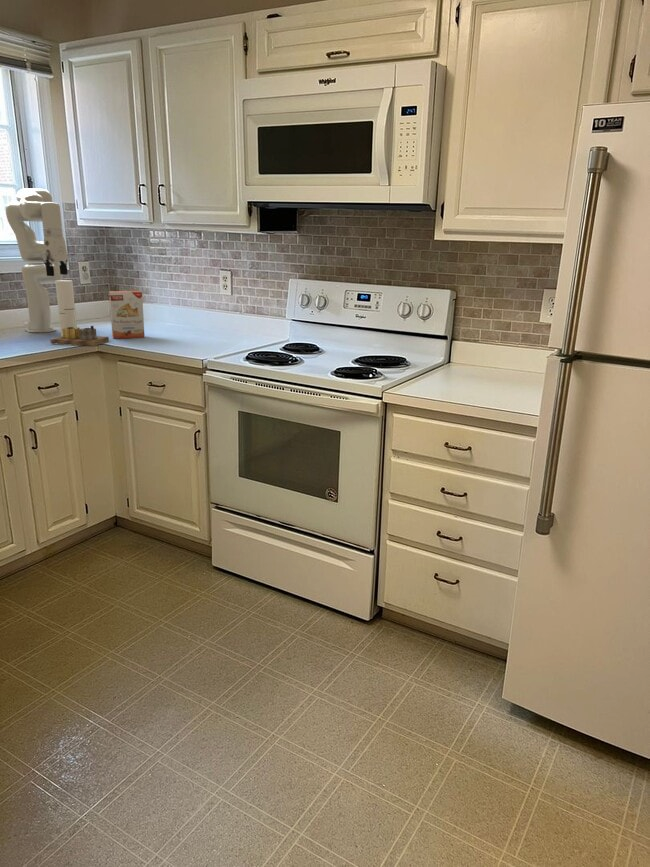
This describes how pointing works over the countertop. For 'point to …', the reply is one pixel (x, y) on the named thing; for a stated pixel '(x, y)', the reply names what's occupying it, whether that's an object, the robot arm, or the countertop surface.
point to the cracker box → (127, 314)
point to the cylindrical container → (66, 304)
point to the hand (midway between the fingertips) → (57, 275)
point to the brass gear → (70, 333)
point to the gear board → (82, 338)
